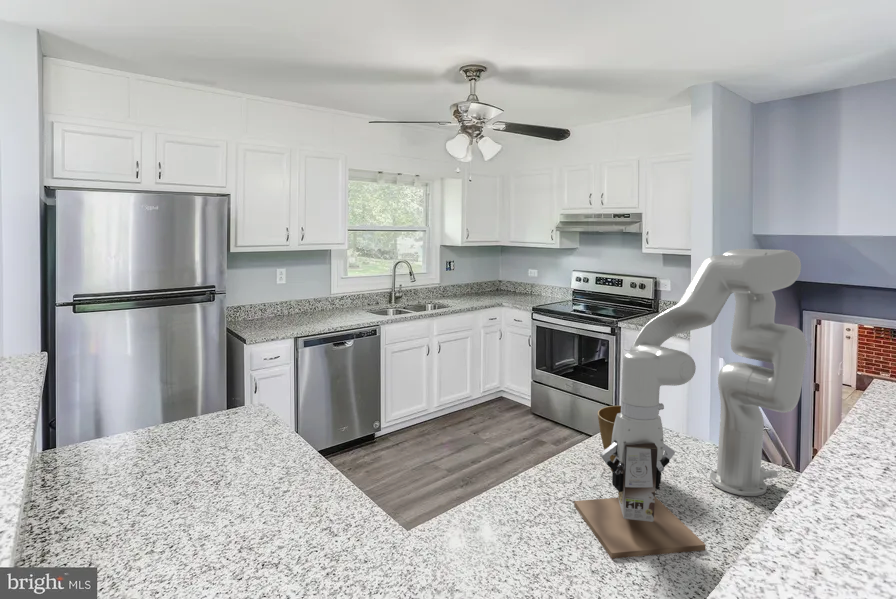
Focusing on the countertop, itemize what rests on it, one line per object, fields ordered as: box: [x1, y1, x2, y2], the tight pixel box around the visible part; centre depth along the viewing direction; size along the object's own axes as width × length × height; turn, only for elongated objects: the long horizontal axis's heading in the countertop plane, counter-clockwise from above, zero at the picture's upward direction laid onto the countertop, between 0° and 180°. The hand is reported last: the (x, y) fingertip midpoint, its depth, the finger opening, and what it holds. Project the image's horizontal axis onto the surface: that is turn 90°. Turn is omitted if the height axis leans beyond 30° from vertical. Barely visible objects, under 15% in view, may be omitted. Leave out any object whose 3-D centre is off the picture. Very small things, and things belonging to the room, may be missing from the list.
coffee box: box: [617, 441, 658, 522], centre depth 109 cm, size 9×6×16 cm
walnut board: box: [573, 496, 707, 560], centre depth 111 cm, size 20×20×1 cm
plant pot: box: [597, 405, 621, 472], centre depth 136 cm, size 15×15×16 cm
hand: (636, 487), depth 110 cm, fingers closed on coffee box, 7 cm apart
